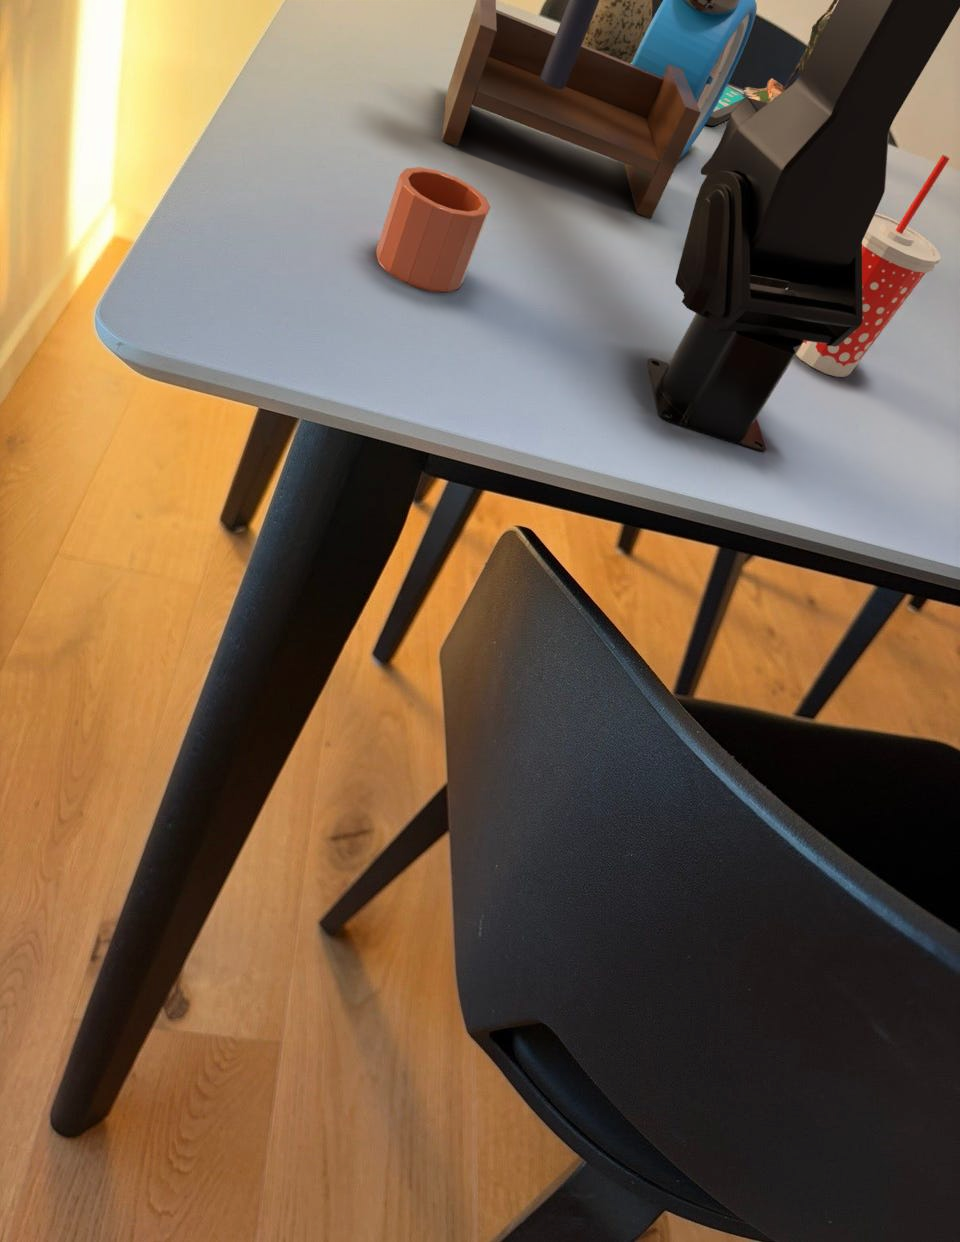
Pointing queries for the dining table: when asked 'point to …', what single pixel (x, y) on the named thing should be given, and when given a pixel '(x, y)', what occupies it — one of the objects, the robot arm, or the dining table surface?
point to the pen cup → (431, 229)
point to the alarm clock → (698, 47)
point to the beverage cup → (880, 283)
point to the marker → (568, 42)
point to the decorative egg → (619, 27)
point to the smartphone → (725, 106)
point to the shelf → (574, 99)
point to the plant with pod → (774, 87)
